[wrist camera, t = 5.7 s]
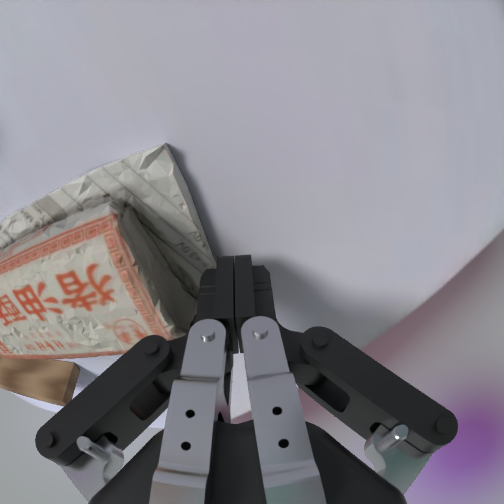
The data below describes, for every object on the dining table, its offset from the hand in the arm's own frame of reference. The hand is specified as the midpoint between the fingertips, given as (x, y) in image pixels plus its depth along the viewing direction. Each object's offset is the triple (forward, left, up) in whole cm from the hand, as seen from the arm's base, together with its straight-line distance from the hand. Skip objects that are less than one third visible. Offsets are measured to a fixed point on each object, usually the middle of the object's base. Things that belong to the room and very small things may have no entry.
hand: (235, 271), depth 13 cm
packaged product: (+10, +1, -2) cm, 10 cm away
